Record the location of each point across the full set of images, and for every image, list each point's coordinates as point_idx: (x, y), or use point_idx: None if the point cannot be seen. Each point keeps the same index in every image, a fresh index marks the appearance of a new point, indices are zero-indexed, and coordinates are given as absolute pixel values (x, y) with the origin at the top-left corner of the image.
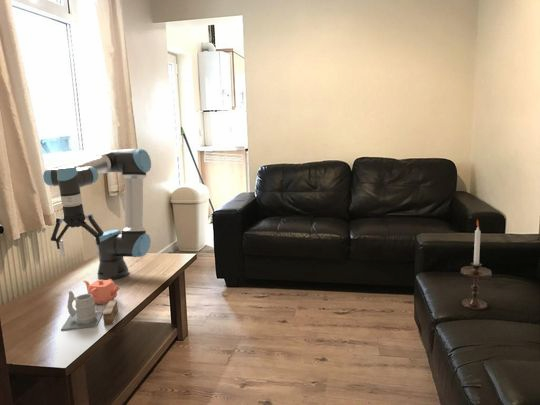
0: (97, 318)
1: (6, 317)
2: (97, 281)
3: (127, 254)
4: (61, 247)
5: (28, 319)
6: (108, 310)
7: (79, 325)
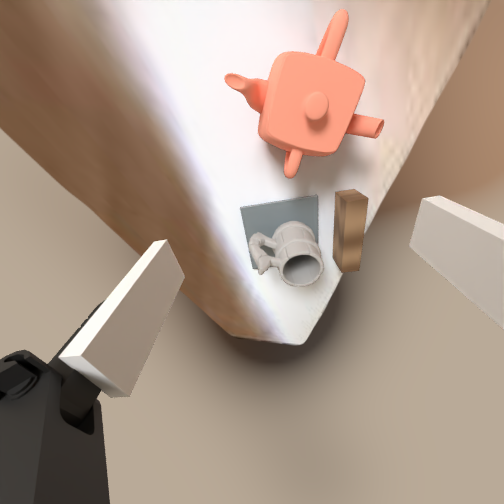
0: (313, 232)
1: (81, 200)
2: (290, 76)
3: None
4: (156, 337)
5: (147, 215)
6: (352, 258)
7: None
